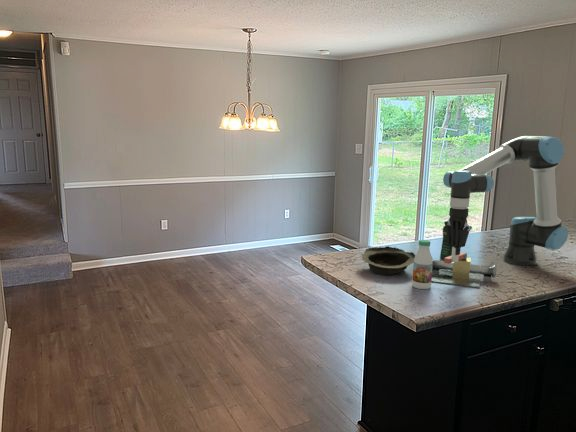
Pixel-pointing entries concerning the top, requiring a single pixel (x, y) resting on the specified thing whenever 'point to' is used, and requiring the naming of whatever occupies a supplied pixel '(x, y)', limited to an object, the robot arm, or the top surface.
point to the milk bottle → (422, 266)
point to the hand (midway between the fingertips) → (454, 261)
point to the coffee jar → (445, 246)
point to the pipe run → (461, 273)
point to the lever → (461, 256)
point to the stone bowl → (387, 259)
